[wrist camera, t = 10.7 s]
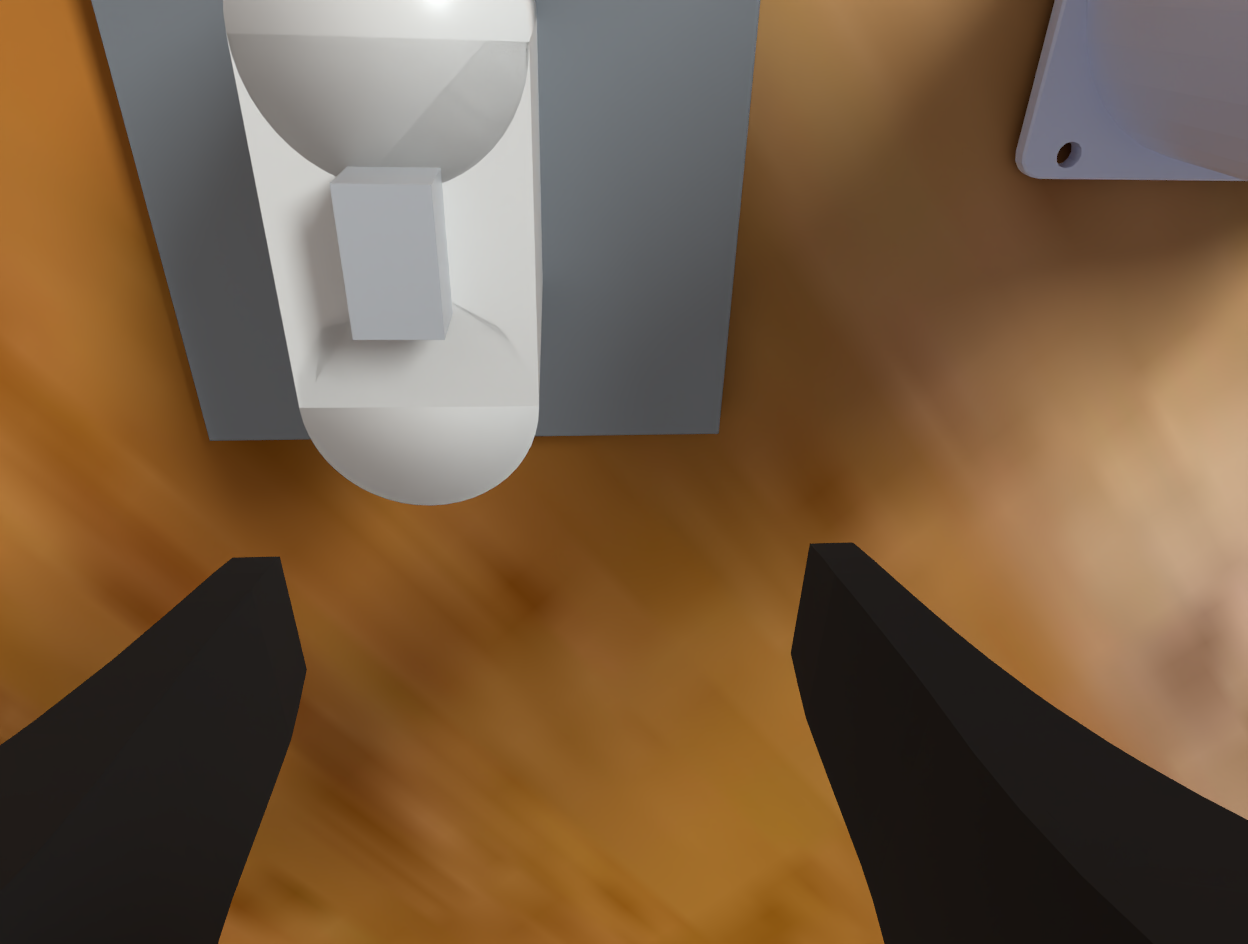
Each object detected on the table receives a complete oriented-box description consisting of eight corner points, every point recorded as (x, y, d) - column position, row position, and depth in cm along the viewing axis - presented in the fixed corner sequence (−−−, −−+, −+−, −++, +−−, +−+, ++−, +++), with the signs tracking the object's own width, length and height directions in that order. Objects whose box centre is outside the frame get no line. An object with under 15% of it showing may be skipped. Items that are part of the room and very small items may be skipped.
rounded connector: (534, -101, 14) (521, -152, 8) (544, 358, 19) (540, 538, 13) (321, -110, 14) (150, -169, 8) (382, 358, 18) (302, 543, 13)
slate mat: (767, -184, 15) (778, -192, 14) (713, 418, 21) (718, 433, 20) (56, -216, 14) (30, -226, 13) (221, 424, 20) (209, 440, 19)
